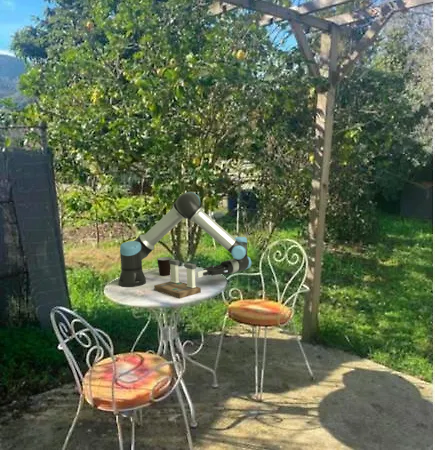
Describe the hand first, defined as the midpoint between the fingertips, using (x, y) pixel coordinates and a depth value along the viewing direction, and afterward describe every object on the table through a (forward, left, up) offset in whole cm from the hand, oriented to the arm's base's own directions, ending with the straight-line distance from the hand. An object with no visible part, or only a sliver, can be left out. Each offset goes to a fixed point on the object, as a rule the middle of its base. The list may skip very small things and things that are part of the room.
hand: (197, 274), depth 234 cm
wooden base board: (-11, -2, -9) cm, 14 cm away
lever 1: (-14, +6, -6) cm, 16 cm away
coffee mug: (-26, +34, -9) cm, 44 cm away
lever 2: (-3, -3, -6) cm, 7 cm away
